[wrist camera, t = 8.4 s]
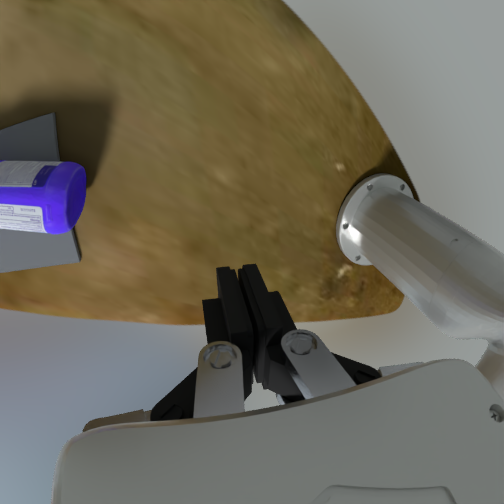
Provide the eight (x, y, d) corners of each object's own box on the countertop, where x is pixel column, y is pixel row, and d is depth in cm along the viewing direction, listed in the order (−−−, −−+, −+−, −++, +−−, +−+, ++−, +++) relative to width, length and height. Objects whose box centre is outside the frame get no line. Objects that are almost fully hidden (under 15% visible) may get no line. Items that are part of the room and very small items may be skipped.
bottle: (88, 209, 26) (-35, 202, 20) (91, 154, 23) (-39, 155, 17) (68, 247, 20) (-68, 233, 14) (66, 179, 17) (-77, 179, 11)
